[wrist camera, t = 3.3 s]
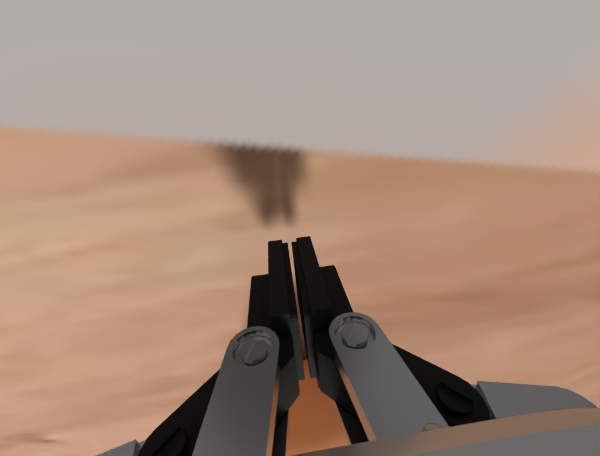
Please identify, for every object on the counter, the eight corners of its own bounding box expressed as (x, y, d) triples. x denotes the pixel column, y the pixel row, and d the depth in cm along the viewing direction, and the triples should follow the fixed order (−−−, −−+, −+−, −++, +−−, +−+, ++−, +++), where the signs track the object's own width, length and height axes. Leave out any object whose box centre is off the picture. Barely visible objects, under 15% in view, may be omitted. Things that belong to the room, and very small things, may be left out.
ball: (349, 332, 16) (384, 436, 11) (348, 387, 18) (377, 491, 14) (259, 345, 16) (254, 458, 11) (271, 399, 18) (271, 510, 13)
